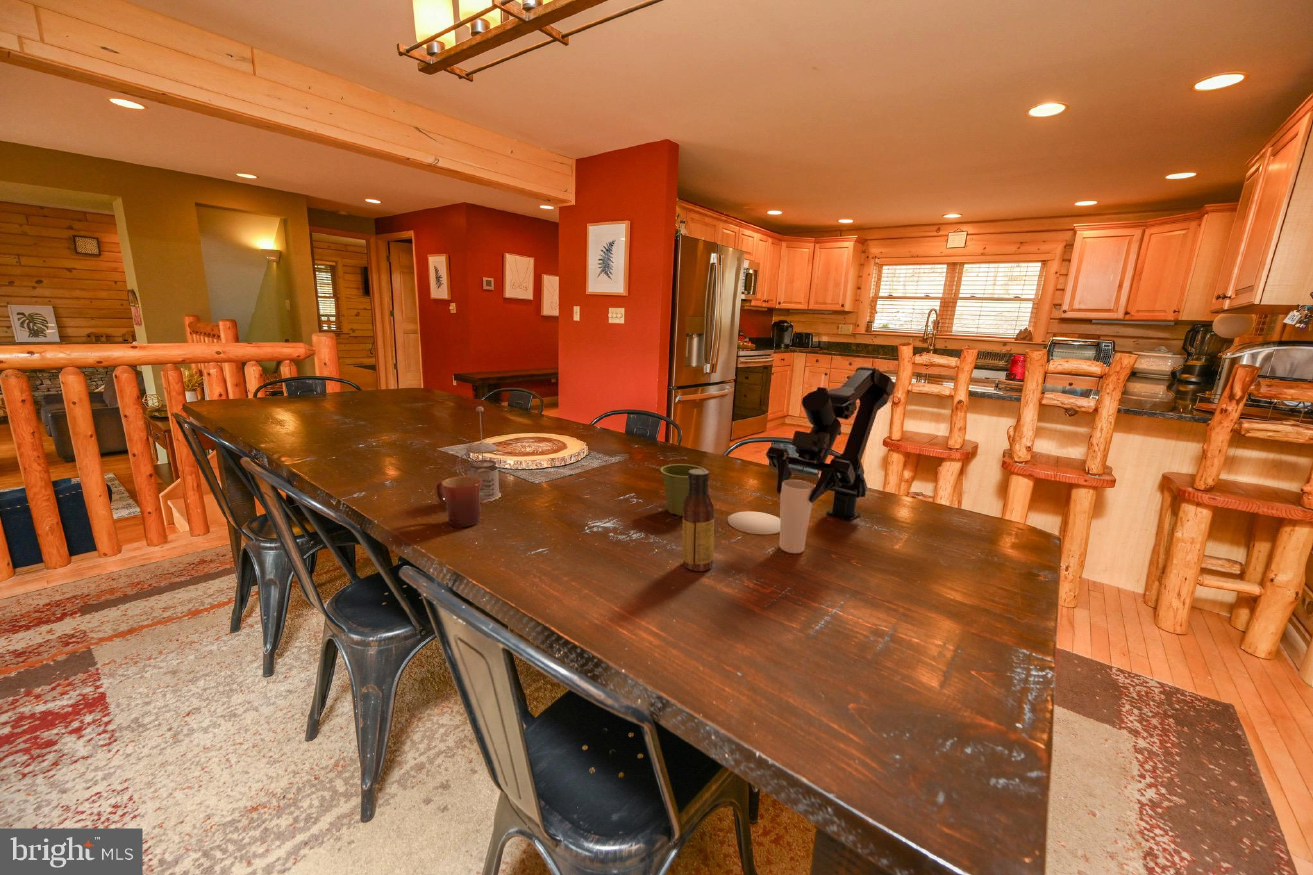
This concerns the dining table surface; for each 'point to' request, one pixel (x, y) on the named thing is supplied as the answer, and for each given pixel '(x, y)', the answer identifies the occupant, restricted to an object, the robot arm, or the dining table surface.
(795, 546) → the drinking glass
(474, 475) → the french press
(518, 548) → the dining table surface
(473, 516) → the mug
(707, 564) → the sauce bottle
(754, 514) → the cream flat disc
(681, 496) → the plant pot
